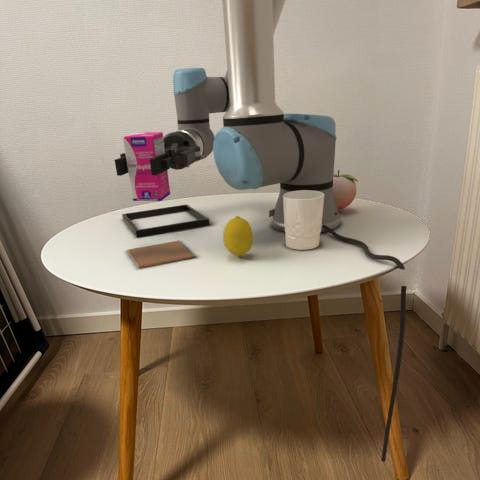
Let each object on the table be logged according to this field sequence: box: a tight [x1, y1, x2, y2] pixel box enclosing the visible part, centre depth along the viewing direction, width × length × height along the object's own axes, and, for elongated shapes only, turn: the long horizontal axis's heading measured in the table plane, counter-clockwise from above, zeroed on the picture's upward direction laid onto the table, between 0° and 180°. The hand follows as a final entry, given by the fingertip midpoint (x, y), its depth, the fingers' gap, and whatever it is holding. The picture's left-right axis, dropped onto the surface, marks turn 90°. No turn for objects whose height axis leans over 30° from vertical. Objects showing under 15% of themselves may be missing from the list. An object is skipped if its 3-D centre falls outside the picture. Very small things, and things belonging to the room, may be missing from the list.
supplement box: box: [122, 131, 171, 202], centre depth 80 cm, size 6×6×12 cm
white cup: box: [283, 190, 324, 251], centre depth 85 cm, size 8×8×10 cm
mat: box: [127, 240, 196, 269], centre depth 86 cm, size 11×11×1 cm
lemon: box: [223, 215, 254, 259], centre depth 81 cm, size 6×6×8 cm
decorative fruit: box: [333, 169, 359, 212], centre depth 105 cm, size 9×8×10 cm
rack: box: [121, 204, 210, 238], centre depth 107 cm, size 18×18×2 cm
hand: (135, 167), depth 75 cm, fingers closed on supplement box, 6 cm apart
